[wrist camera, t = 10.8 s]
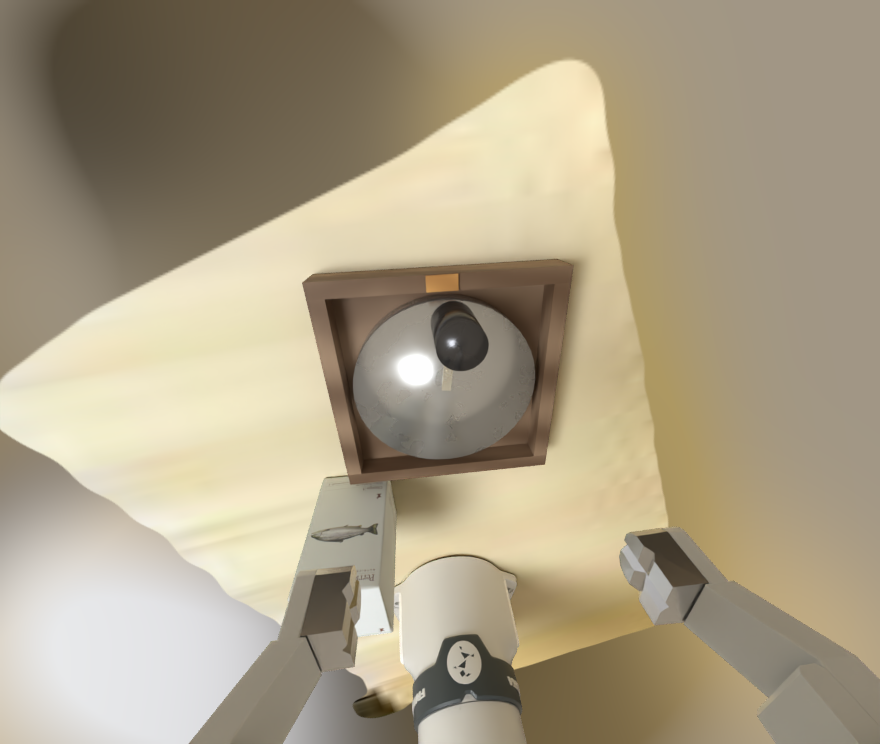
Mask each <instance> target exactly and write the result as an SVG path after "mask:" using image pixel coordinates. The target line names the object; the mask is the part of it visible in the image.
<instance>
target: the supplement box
mask: <svg viewBox="0 0 880 744" xmlns="http://www.w3.org/2000/svg"><path fill="white" fill-rule="evenodd" d="M396 517H397V516H396V509H395V503H394V498H393V492H392V487H391V481H382V482H373V483H363V484H354V485H350V481H349V477H348V476H345V477H336V478H324V480H323V482H322V486H321V489H320V492H319V496H318V499H317V503H316V506H315V509H314V513H313V516H312V520H311V523H310V527H309V530H308V534H307V537H306V540H305V544H304V547H303V550H302V554H301V557H300V560H299V563H298V567H297V570H296V574H295V577H294V580H293V584H292V587H291V590H290V594H289V597H288V602H289V599H290V595H291V592H292V588H293V585H294V582H295V578H296V577H297V575H298V573H299V571H304V570H312V569H323V568H332V567H340V566H349V565H355V568H356V571H357V574H356V580H358V581H359V583H360V587H361V611H360V619H359V620H358V622H357V623H356V625H355V629H356V632H357V636H358V637H361V636H369V635H376V634H384V633H391V632H393V620H394V585H395V550H396Z"/></svg>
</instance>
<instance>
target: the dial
mask: <svg viewBox="0 0 880 744" xmlns="http://www.w3.org/2000/svg"><path fill="white" fill-rule="evenodd" d="M534 384H535V366H534V360H533V356H532V353H531V350H530V348H529V346H528V343H527V341H526V340H525V338H524V337H523V335H522V334H521V332H520V331H519V330H518V329H517V328H516V326H515V325H514V324H513V323H512V322H511V321H510V320H509V319H508V318H507V317H506V316H505V315H504V314H503V313H501V312H500V311H499V310H498V309H496V308H494V307H493V306H491V305H489V304H488V303H485V302H483V301H480V300H478V299H475V298H471V297H467V296H462V295H454V294H439V295H432V296H426V297H422V298H419V299H415V300H412V301H410V302H408V303H405V304H403V305H401V306H399V307H398V308H396V309H394V310H393V311H391V312H390V313H389V314H387V315H386V316H385V317H384V318H382V319H381V320H380V321H379V322H378V323H377V324H376V326H375V327H374V328H373V329H372V330H371V332H370V333H369V335H368V336H367V337H366V339H365V341H364V343H363V345H362V347H361V350H360V353H359V356H358V359H357V362H356V366H355V370H354V376H353V393H354V400H355V403H356V407H357V410H358V412H359V414H360V416H361V418H362V420H363V421H364V423H365V424H366V426H367V427H368V428H369V429H370V431H371V432H372V433H373V434H374V435H375V436H376V437H377V438H378V439H380V440H381V441H382V442H384V443H385V444H387V445H388V446H390V447H391V448H393V449H395V450H397V451H399V452H402V453H405V454H407V455H411V456H415V457H418V458H425V459H452V458H458V457H463V456H466V455H470V454H473V453H476V452H478V451H481V450H483V449H485V448H487V447H489V446H491V445H492V444H494V443H495V442H497V441H499V440H500V439H501V438H502V437H504V436H505V435H506V434H507V433H508V432H509V431H510V430H511V429H512V428H513V427H514V426H515V425H516V424H517V423H518V421H519V420H520V419H521V417H522V416H523V414H524V413H525V411H526V409H527V407H528V405H529V403H530V400H531V397H532V394H533V390H534Z"/></svg>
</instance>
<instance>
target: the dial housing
mask: <svg viewBox="0 0 880 744" xmlns="http://www.w3.org/2000/svg"><path fill="white" fill-rule="evenodd" d="M573 266H574V265H571V264H569V263H566V262H563V261H561V260H558V259H551V260H535V261H519V262H503V263H487V264H471V265H454V266H438V267H422V268H406V269H390V270H374V271H358V272H342V273H326V274H312V275H311V276H310V277H309V278H307V279H306V280H305V281H304V282H302V284H303V288H304V292H305V297H306V301H307V305H308V309H309V313H310V318H311V322H312V326H313V330H314V334H315V339H316V343H317V347H318V351H319V355H320V360H321V364H322V368H323V372H324V376H325V381H326V385H327V389H328V393H329V397H330V402H331V406H332V410H333V414H334V418H335V423H336V427H337V431H338V435H339V439H340V444H341V448H342V452H343V456H344V460H345V465H346V469H347V473H348V477H349V481H350V485H354V484H363V483H373V482H382V481H392V480H401V479H411V478H420V477H430V476H439V475H449V474H459V473H468V472H478V471H487V470H497V469H506V468H516V467H525V466H535V465H544V464H545V461H546V454H547V447H548V440H549V433H550V426H551V419H552V412H553V405H554V398H555V391H556V384H557V377H558V370H559V363H560V357H561V350H562V343H563V336H564V329H565V322H566V315H567V308H568V301H569V294H570V287H571V280H572V273H573ZM439 294H454V295H462V296H467V297H471V298H475V299H478V300H480V301H483V302H485V303H488V304H489V305H491V306H493V307H494V308H496V309H498V310H499V311H500V312H501V313H503V314H504V315H505V316H506V317H507V318H508V319H509V320H510V321H511V322H512V323H513V324H514V325H515V326H516V328H517V329H518V330H519V331H520V332H521V334H522V335H523V337H524V338H525V340H526V341H527V343H528V346H529V348H530V350H531V353H532V356H533V360H534V366H535V384H534V390H533V394H532V397H531V400H530V403H529V405H528V407H527V409H526V411H525V413H524V414H523V416H522V417H521V419H520V420H519V421H518V423H517V424H516V425H515V426H514V427H513V428H512V429H511V430H510V431H509V432H508V433H507V434H506V435H505V436H504V437H502V438H501V439H500V440H499V441H497V442H495V443H494V444H492V445H491V446H489V447H487V448H485V449H483V450H481V451H478V452H476V453H473V454H470V455H466V456H463V457H458V458H452V459H425V458H418V457H415V456H411V455H407V454H405V453H402V452H399V451H397V450H395V449H393V448H391V447H390V446H388V445H387V444H385V443H384V442H382V441H381V440H380V439H378V438H377V437H376V436H375V435H374V434H373V433H372V432H371V431H370V429H369V428H368V427H367V426H366V424H365V423H364V421H363V420H362V418H361V416H360V414H359V412H358V410H357V407H356V403H355V400H354V393H353V376H354V370H355V366H356V362H357V359H358V356H359V353H360V350H361V347H362V345H363V343H364V341H365V339H366V337H367V336H368V335H369V333H370V332H371V330H372V329H373V328H374V327H375V326H376V324H377V323H378V322H379V321H380V320H381V319H382V318H384V317H385V316H386V315H387V314H389V313H390V312H391V311H393V310H394V309H396V308H398V307H399V306H401V305H403V304H405V303H408V302H410V301H412V300H415V299H419V298H422V297H426V296H432V295H439Z"/></svg>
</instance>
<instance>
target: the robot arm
mask: <svg viewBox="0 0 880 744" xmlns="http://www.w3.org/2000/svg"><path fill="white" fill-rule="evenodd" d="M624 540H625V542H626V543H627V545H626V546H625V547H624V548H622V549H621V552H620V556H619V559H620V565H621V568H622V571H623V573H624V575H625V577H626V579H627V581H628V582H629V584H630V585H632V586H633V587H634V588H636V589H637V590H638V591H639V601H640V603H641V604H642V606H643V608H644V609H645V611H646V613H647V614H648V616H649V617H650V619H651V621H652V622H653V624H654V625H663V624H672V623H682V622H684V625H685V626H686V627H687V628H689V629H690V630H691V631H692V632H693V633H694V634H695V635H697V636H698V637H699V638H700V639H701V640H702V641H704V642H705V643H706V644H707V645H708V646H709V647H710V648H712V649H713V650H714V651H715V652H716V653H717V654H718V655H720V656H721V657H722V658H723V659H724V660H725V661H727V662H728V663H729V664H730V665H731V666H733V667H734V668H735V669H736V670H737V671H738V672H739V673H740V674H742V675H743V676H744V677H745V678H746V679H748V680H749V681H750V682H751V683H752V684H753V685H754V686H755V687H757V688H758V689H759V690H760V691H761V692H762V693H764V694H765V695H766V696H767V697H768V699H767V700H766V701H765V702H764V703H763V704H762V705H761V706H760V707H759V708H758V712H757V717H758V718H759V720H760V721H761V723H762V724H763V726H764V727H765V729H766V730H767V731H768V733H769V734H770V736H771V737H772V739H773V740H774V742H775V743H776V744H880V679H879V678H878V677H877V676H876V675H875V674H874V673H873V672H872V671H871V670H870V669H869V668H868V667H867V666H866V665H865V664H864V663H863V662H862V661H861V660H860V659H859V658H858V657H856V656H855V655H854V654H852V653H851V652H849V651H848V650H846V649H844V648H843V647H841V646H839V645H838V644H836V643H834V642H833V641H831V640H829V639H828V638H826V637H825V636H823V635H821V634H820V633H818V632H816V631H815V630H813V629H812V628H810V627H808V626H807V625H805V624H803V623H802V622H800V621H798V620H797V619H795V618H794V617H792V616H790V615H789V614H787V613H785V612H784V611H782V610H780V609H779V608H777V607H775V606H774V605H772V604H771V603H769V602H767V601H766V600H764V599H762V598H761V597H759V596H758V595H756V594H754V593H752V592H751V591H749V590H748V589H746V588H745V587H743V586H741V585H740V584H738V583H736V582H735V581H728V580H727V579H726V578H725V577H724V575H723V574H722V573H721V572H720V571H719V570H718V569H717V568H716V566H715V565H714V564H713V563H712V562H711V561H710V559H709V558H708V557H707V556H706V555H705V554H704V553H703V551H702V550H701V549H700V548H699V547H698V546H697V545H696V543H695V542H694V541H693V540H692V539H691V538H690V536H689V535H688V534H687V533H686V532H685V531H684V530H683V529H681V528H680V527H668V528H657V529H650V530H643V531H635V532H630V533H628V534H626V537H625V539H624ZM356 574H357V571H356V568H355V565H349V566H340V567H332V568H323V569H312V570H304V571H299V573H298V575H297V577H296V578H295V582H294V585H293V588H292V592H291V595H290V599H289V602H288V605H287V609H286V612H285V616H284V619H283V622H282V626H281V629H280V632H279V636H278V640H276V641H271V642H270V644H269V645H268V646H267V647H266V649H265V650H264V651H263V652H262V653H261V655H260V656H259V657H258V658H257V660H256V661H255V662H254V663H253V665H252V666H251V667H250V668H249V670H248V671H247V672H246V673H245V675H244V676H243V677H242V678H241V680H240V681H239V682H238V683H237V684H236V686H235V687H234V688H233V689H232V691H231V692H230V693H229V694H228V696H227V697H226V698H225V699H224V701H223V702H222V703H221V704H220V706H219V707H218V708H217V709H216V711H215V712H214V713H213V714H212V715H211V717H210V718H209V719H208V720H207V722H206V723H205V724H204V725H203V727H202V728H201V729H200V730H199V732H198V733H197V734H196V735H195V737H194V738H193V739H192V740H191V742H190V743H189V744H283V742H284V740H285V739H286V737H287V735H288V733H289V732H290V730H291V728H292V726H293V725H294V723H295V721H296V719H297V718H298V716H299V714H300V712H301V711H302V709H303V707H304V705H305V704H306V702H307V700H308V698H309V697H310V695H311V693H312V691H313V690H314V688H315V686H316V684H317V683H318V681H319V679H320V677H321V676H322V674H321V672H327V671H333V670H338V669H345V668H351V667H354V666H355V657H356V648H357V640H358V636H357V632H356V629H355V625H356V623H357V622H358V620H359V619H360V611H361V587H360V583H359V581H358V580H356ZM516 586H517V581H516V577H515V576H514V575H513V574H510V573H506V572H503V571H500V570H499V569H497V568H496V567H495V566H494V565H492V564H491V563H489V562H487V561H485V560H482V559H479V558H474V557H465V556H458V557H448V558H443V559H438V560H435V561H432V562H429V563H427V564H425V565H423V566H421V567H419V568H418V569H416V570H415V571H414V572H412V573H411V574H410V575H409V576H408V577H407V579H406V580H405V581H404V582H403V583H402V584H400V585H398V586H396V587H394V614H395V615H396V617H397V619H398V620H399V623H400V660H401V663H402V664H404V666H405V669H406V670H407V671H408V672H409V673H410V674H411V675H412V677H413V679H414V684H413V702H412V710H413V716H414V728H415V730H416V732H417V733H418V744H526V740H525V735H524V731H523V727H522V722H521V718H520V715H521V713H522V705H521V700H520V691H519V687H518V684H517V681H516V677H515V673H514V669H513V668H512V666H511V665H512V660H513V658H514V656H515V654H516V652H517V648H518V647H519V638H518V634H517V629H516V625H515V620H514V616H513V611H512V607H511V602H510V600H511V598H512V595H513V593H514V591H515V589H516Z"/></svg>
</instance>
